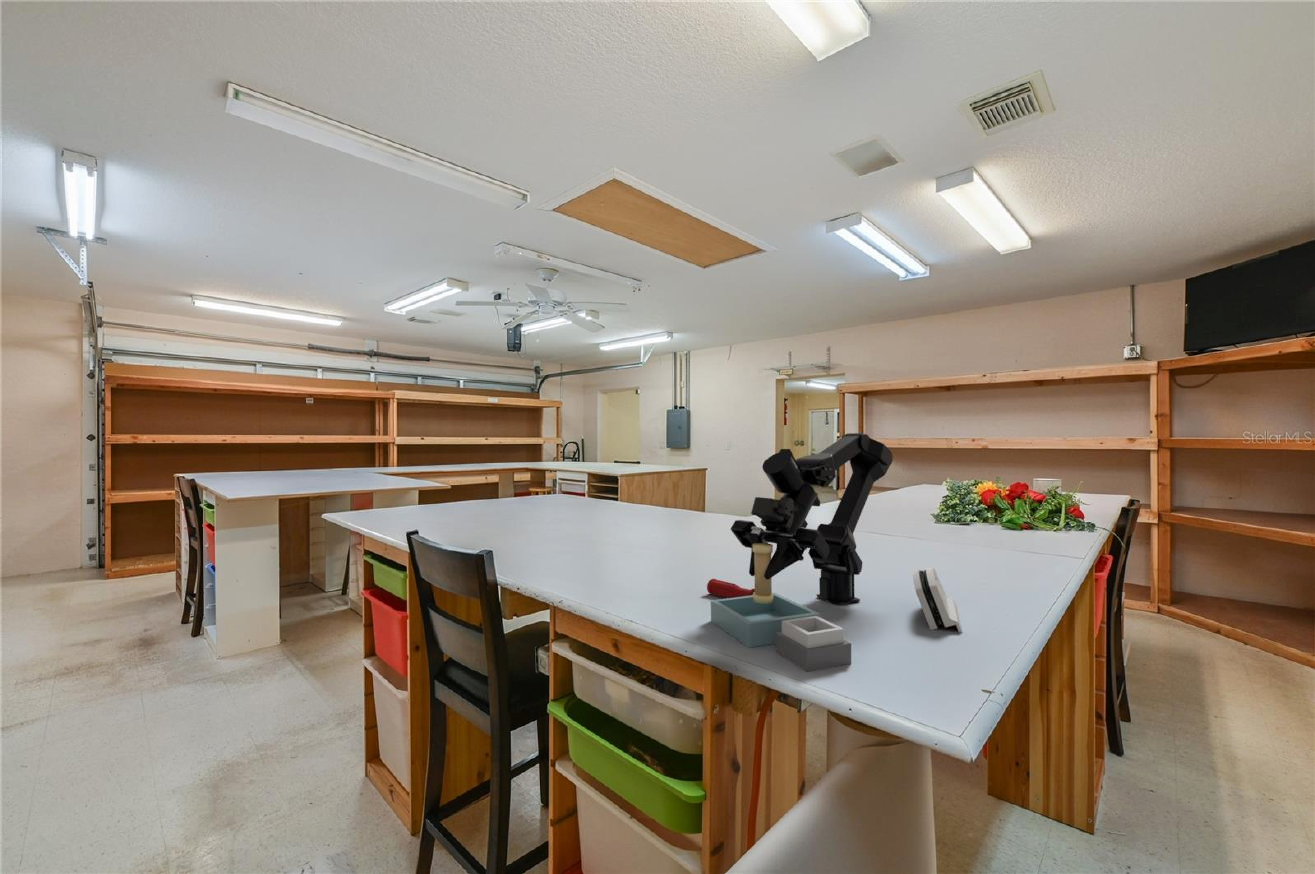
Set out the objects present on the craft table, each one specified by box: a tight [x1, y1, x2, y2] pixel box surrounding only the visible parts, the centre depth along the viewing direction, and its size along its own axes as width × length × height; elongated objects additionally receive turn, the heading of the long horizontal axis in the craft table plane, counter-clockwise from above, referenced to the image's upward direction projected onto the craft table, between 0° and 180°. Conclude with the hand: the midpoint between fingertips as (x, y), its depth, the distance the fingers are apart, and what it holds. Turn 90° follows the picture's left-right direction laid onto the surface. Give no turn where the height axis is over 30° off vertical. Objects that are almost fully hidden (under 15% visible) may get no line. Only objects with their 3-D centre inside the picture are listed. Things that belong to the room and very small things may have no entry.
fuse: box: [752, 543, 774, 604], centre depth 94 cm, size 4×4×10 cm
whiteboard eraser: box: [912, 567, 963, 634], centre depth 100 cm, size 17×5×10 cm, turn 153°
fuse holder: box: [775, 616, 852, 672], centre depth 81 cm, size 8×8×5 cm
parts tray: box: [710, 592, 821, 648], centre depth 94 cm, size 14×14×4 cm
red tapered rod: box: [706, 578, 755, 599], centre depth 107 cm, size 4×25×4 cm, turn 43°
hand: (758, 576), depth 93 cm, fingers closed on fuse, 3 cm apart
